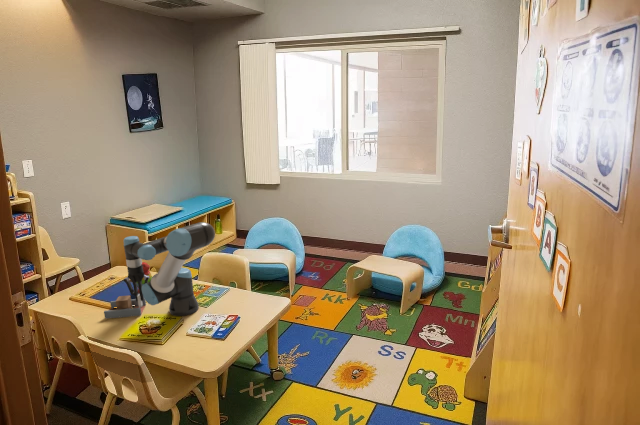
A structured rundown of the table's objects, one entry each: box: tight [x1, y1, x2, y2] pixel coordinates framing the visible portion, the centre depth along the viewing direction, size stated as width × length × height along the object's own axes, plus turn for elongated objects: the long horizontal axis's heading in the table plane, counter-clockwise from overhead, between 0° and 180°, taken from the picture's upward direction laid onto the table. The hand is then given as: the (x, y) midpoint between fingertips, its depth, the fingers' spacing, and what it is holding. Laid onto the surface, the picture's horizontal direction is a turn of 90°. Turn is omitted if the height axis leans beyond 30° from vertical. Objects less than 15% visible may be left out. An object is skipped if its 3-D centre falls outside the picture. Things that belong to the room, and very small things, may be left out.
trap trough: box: [103, 298, 147, 320], centre depth 248 cm, size 18×12×4 cm
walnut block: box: [115, 294, 133, 310], centre depth 247 cm, size 6×6×8 cm
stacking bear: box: [137, 261, 153, 292], centre depth 271 cm, size 11×10×18 cm
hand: (140, 306), depth 249 cm, fingers closed
